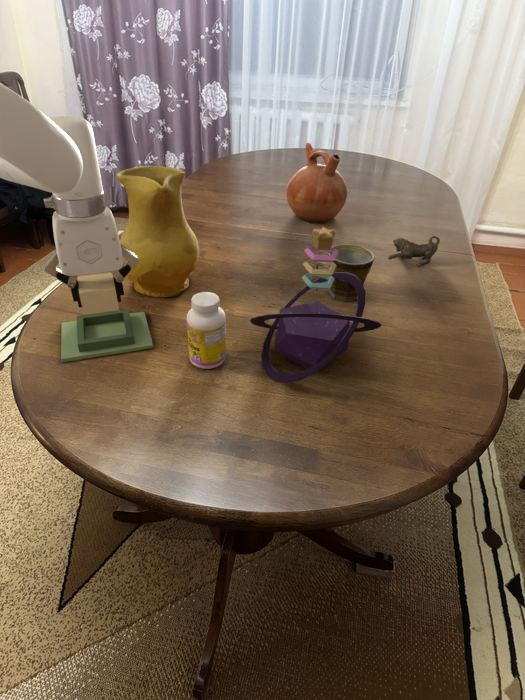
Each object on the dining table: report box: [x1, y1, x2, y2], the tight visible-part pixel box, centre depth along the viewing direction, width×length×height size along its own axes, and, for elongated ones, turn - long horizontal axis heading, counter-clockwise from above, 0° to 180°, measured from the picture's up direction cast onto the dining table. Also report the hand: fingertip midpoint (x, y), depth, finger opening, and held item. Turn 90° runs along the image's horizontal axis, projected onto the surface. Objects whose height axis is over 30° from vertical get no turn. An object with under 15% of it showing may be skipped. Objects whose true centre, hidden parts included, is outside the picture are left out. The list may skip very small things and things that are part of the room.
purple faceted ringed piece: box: [249, 226, 382, 384], centre depth 79 cm, size 22×21×25 cm
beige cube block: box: [77, 272, 120, 315], centre depth 84 cm, size 6×6×4 cm
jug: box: [286, 142, 348, 224], centre depth 138 cm, size 18×18×20 cm
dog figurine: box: [387, 235, 441, 268], centre depth 119 cm, size 12×6×7 cm, turn 82°
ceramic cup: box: [315, 243, 375, 302], centre depth 103 cm, size 13×10×10 cm
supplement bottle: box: [186, 291, 227, 370], centre depth 81 cm, size 7×7×13 cm
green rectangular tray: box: [60, 308, 154, 363], centre depth 89 cm, size 16×12×3 cm
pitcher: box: [116, 165, 200, 298], centre depth 100 cm, size 17×19×25 cm
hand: (99, 300), depth 85 cm, fingers closed on beige cube block, 6 cm apart
